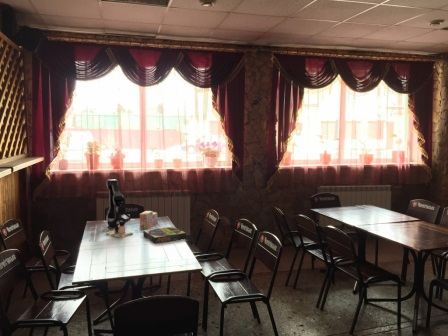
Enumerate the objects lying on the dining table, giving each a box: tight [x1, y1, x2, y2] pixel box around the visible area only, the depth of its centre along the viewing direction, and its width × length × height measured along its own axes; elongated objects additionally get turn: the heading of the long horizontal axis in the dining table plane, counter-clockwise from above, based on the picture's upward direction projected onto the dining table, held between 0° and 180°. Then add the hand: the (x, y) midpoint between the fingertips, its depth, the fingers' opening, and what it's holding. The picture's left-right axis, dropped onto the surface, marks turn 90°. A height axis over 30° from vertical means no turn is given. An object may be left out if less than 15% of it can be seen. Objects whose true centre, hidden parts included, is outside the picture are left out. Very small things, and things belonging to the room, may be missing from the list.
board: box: [105, 230, 134, 239], centre depth 307 cm, size 18×10×2 cm, turn 60°
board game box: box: [142, 226, 187, 245], centre depth 297 cm, size 24×24×5 cm
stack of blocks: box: [139, 210, 159, 230], centre depth 336 cm, size 21×6×12 cm, turn 165°
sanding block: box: [113, 224, 126, 234], centre depth 307 cm, size 7×4×5 cm, turn 61°
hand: (119, 231), depth 307 cm, fingers closed on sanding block, 4 cm apart
